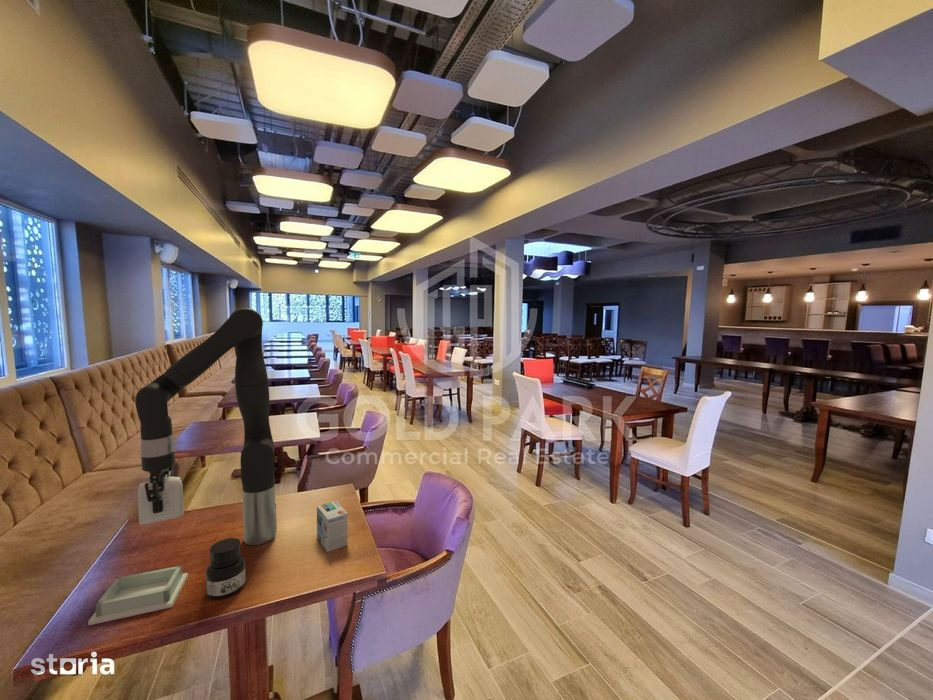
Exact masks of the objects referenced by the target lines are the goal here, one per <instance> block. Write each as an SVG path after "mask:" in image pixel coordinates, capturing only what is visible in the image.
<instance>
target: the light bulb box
mask: <svg viewBox="0 0 933 700" xmlns="http://www.w3.org/2000/svg"><path fill="white" fill-rule="evenodd" d="M316 537H317V539H318V541H319V542H320V544H321V545H322V546H323V548H324V550H325V551H326V552H327V553H329V552H332V551H334V550H337V549H340V548H342V547H345V546H348V512H347V511H346V510H345V509H344V507H343V506H341V504H340V503H339V502H338V501H337V500H333V501H331V502H328V503H324V504H321V505H318V506H316Z"/></svg>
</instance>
